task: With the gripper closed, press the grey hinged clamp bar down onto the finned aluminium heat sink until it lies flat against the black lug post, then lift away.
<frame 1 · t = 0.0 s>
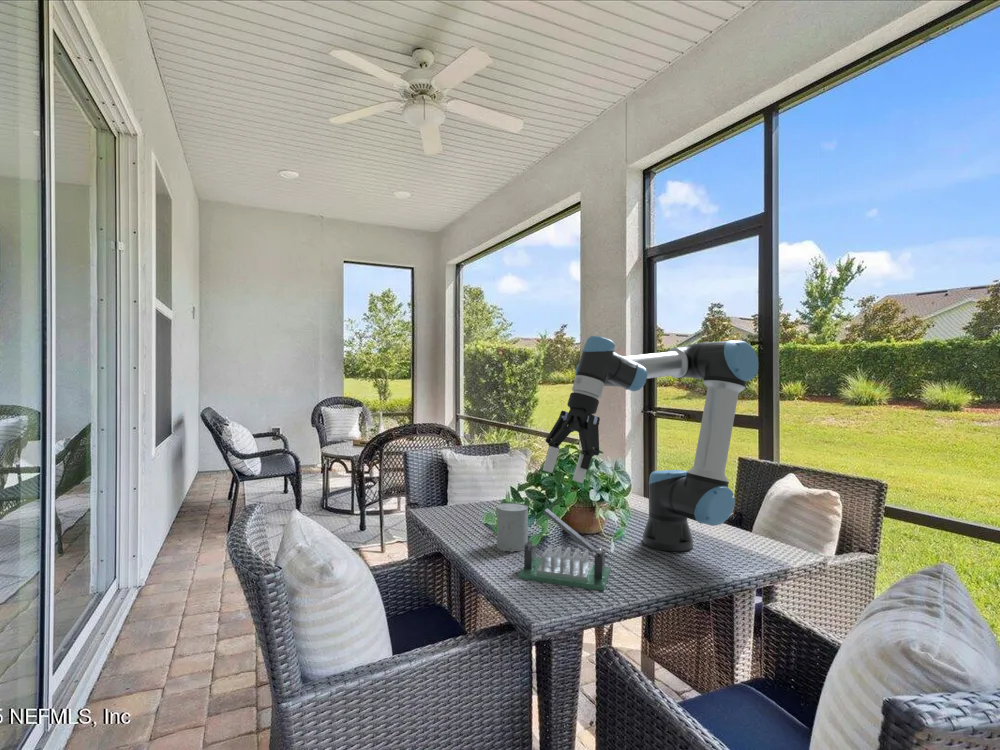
hand: (561, 476, 130), 28 cm above the table, tool tilted 20°, fingers open, 13 cm apart
grey cylinder: (512, 547, 160), on the table
heatsink board: (565, 575, 138), on the table
grey hinged clamp bar: (573, 530, 137), point 12 cm above the table, hinge at 35.0°
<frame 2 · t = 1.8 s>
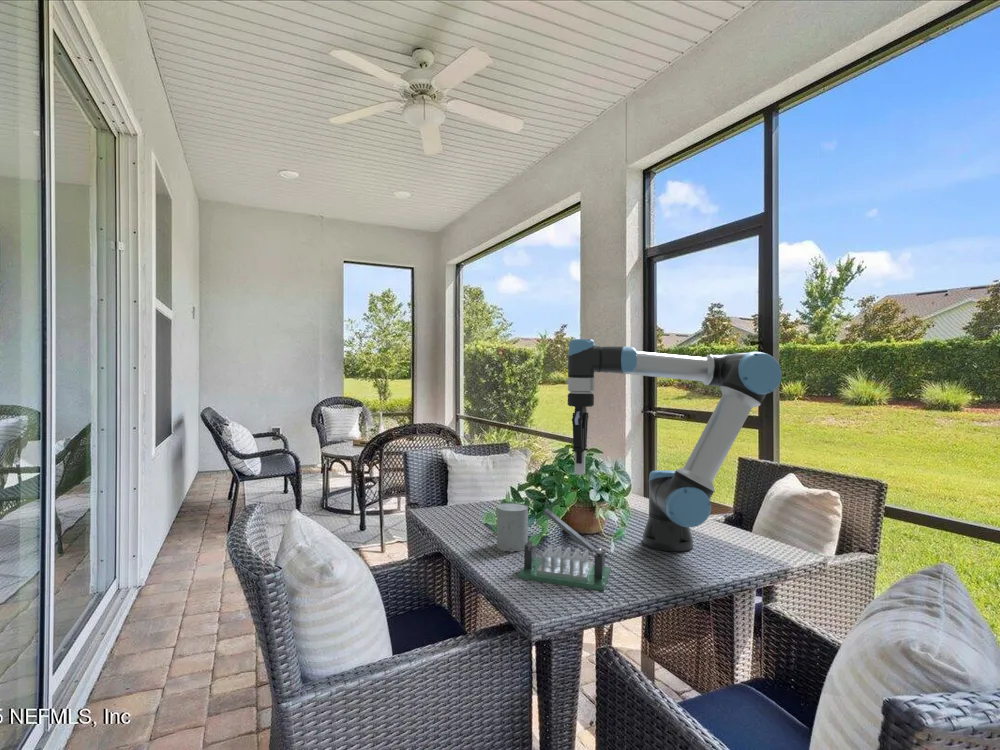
hand: (579, 473, 151), 24 cm above the table, tool pointing down, fingers closed
nothing on the table moved.
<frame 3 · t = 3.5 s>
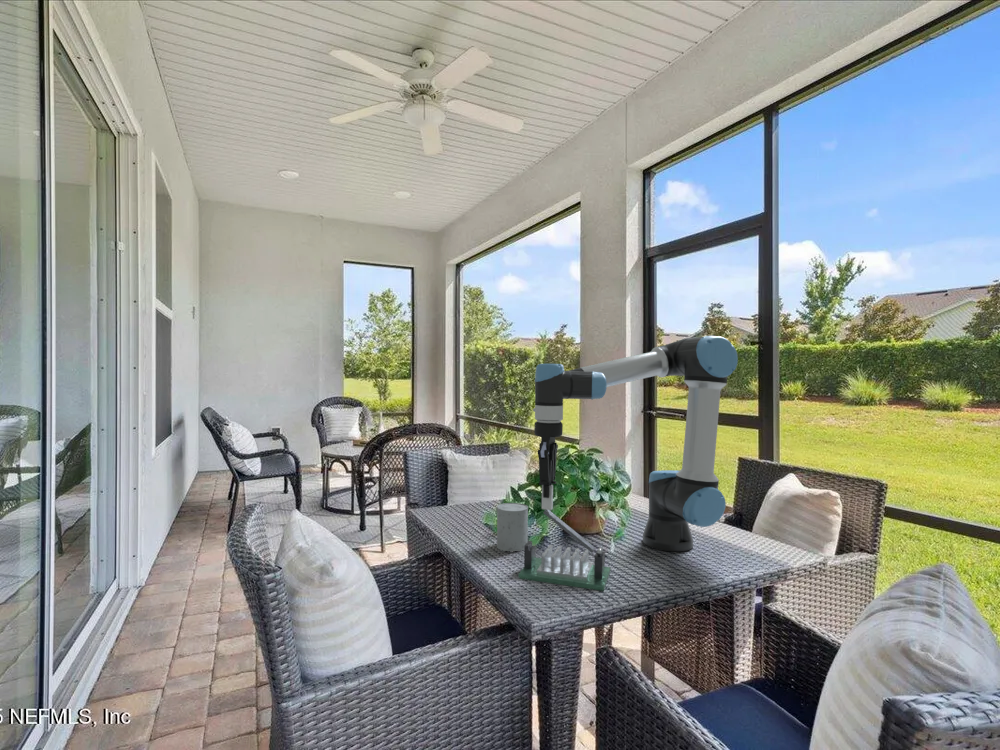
hand: (547, 508, 139), 17 cm above the table, tool pointing down, fingers closed
grey hinged clamp bar: (573, 530, 137), point 12 cm above the table, hinge at 34.7°, touching gripper
everything else where it was.
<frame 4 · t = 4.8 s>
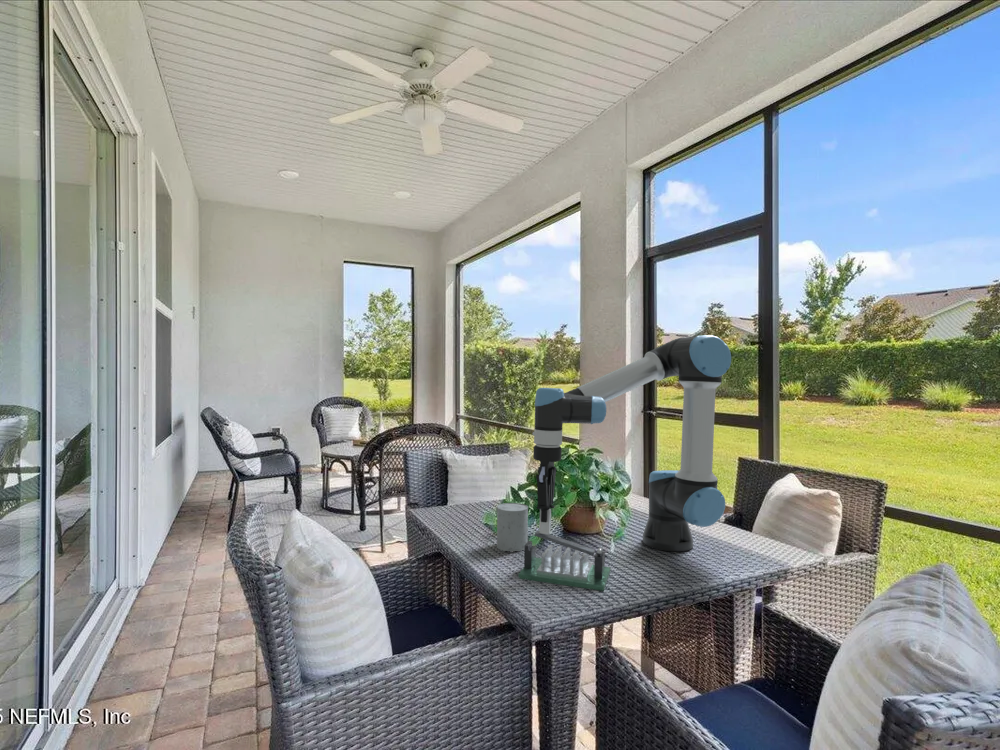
hand: (544, 532, 140), 11 cm above the table, tool pointing down, fingers closed
grey hinged clamp bar: (568, 541, 138), point 9 cm above the table, hinge at 12.2°, touching gripper
everything else where it was.
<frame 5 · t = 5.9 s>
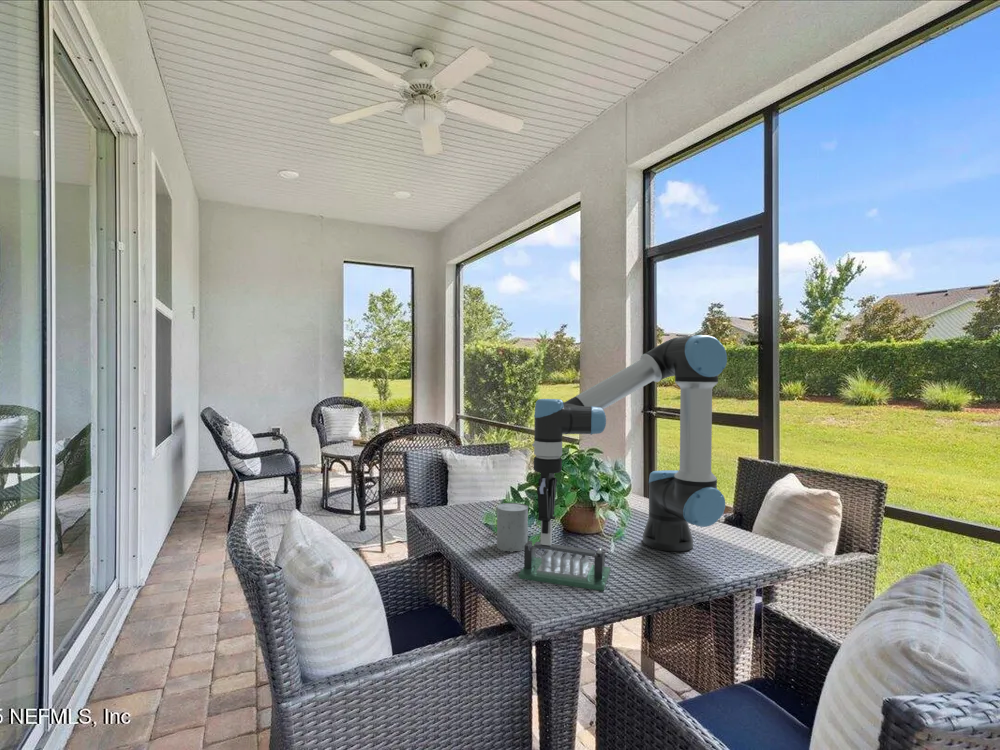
hand: (546, 544, 140), 8 cm above the table, tool pointing down, fingers closed
grey hinged clamp bar: (568, 547, 138), point 7 cm above the table, hinge at 1.9°, touching gripper
everything else where it was.
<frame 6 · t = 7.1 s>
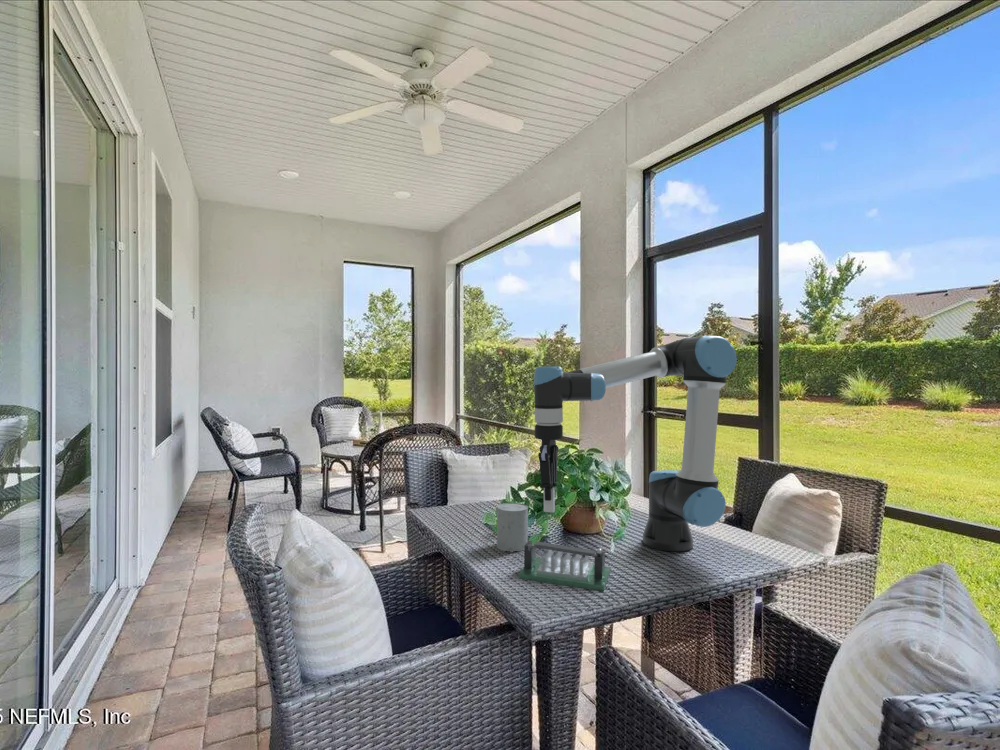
hand: (549, 511, 140), 16 cm above the table, tool pointing down, fingers closed
grey hinged clamp bar: (568, 547, 138), point 7 cm above the table, hinge at 1.9°
everything else where it was.
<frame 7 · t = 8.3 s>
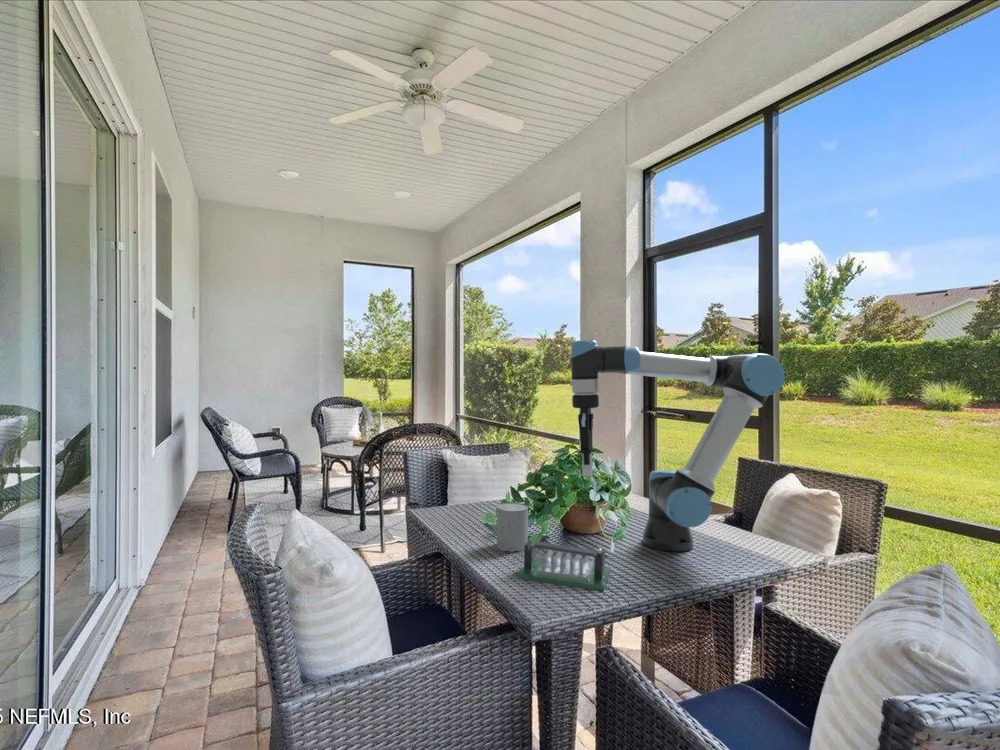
hand: (587, 475, 150), 24 cm above the table, tool pointing down, fingers closed
nothing on the table moved.
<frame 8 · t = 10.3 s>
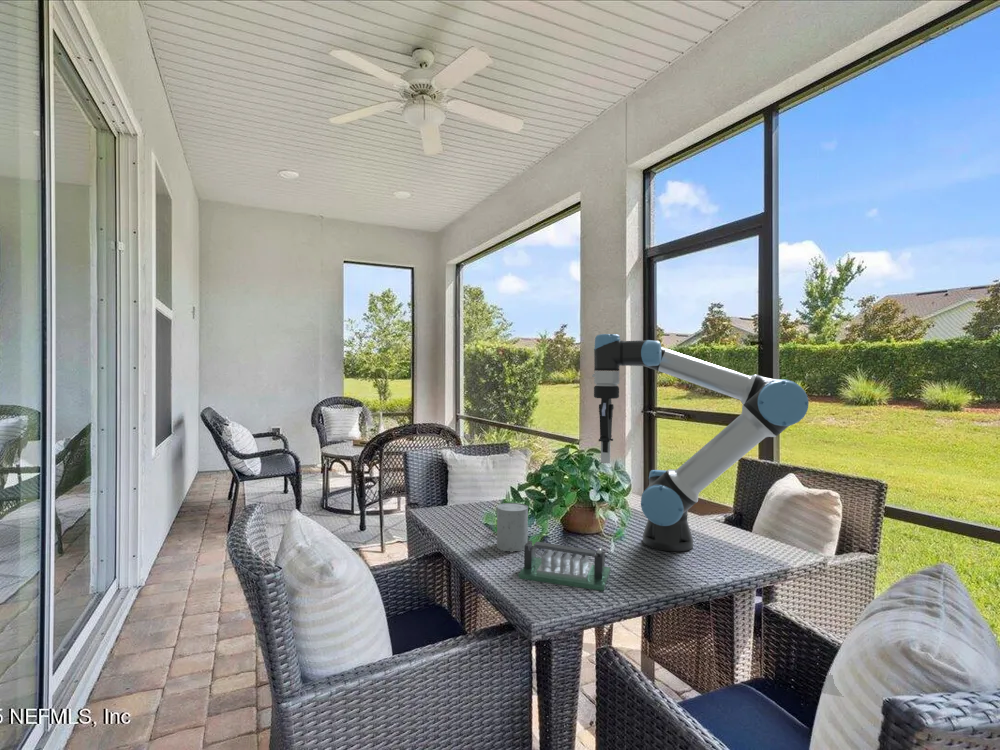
hand: (605, 462, 158), 26 cm above the table, tool pointing down, fingers closed
nothing on the table moved.
at the end: grey hinged clamp bar at +2° (first picture: +35°); grey hinged clamp bar touching nothing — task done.
